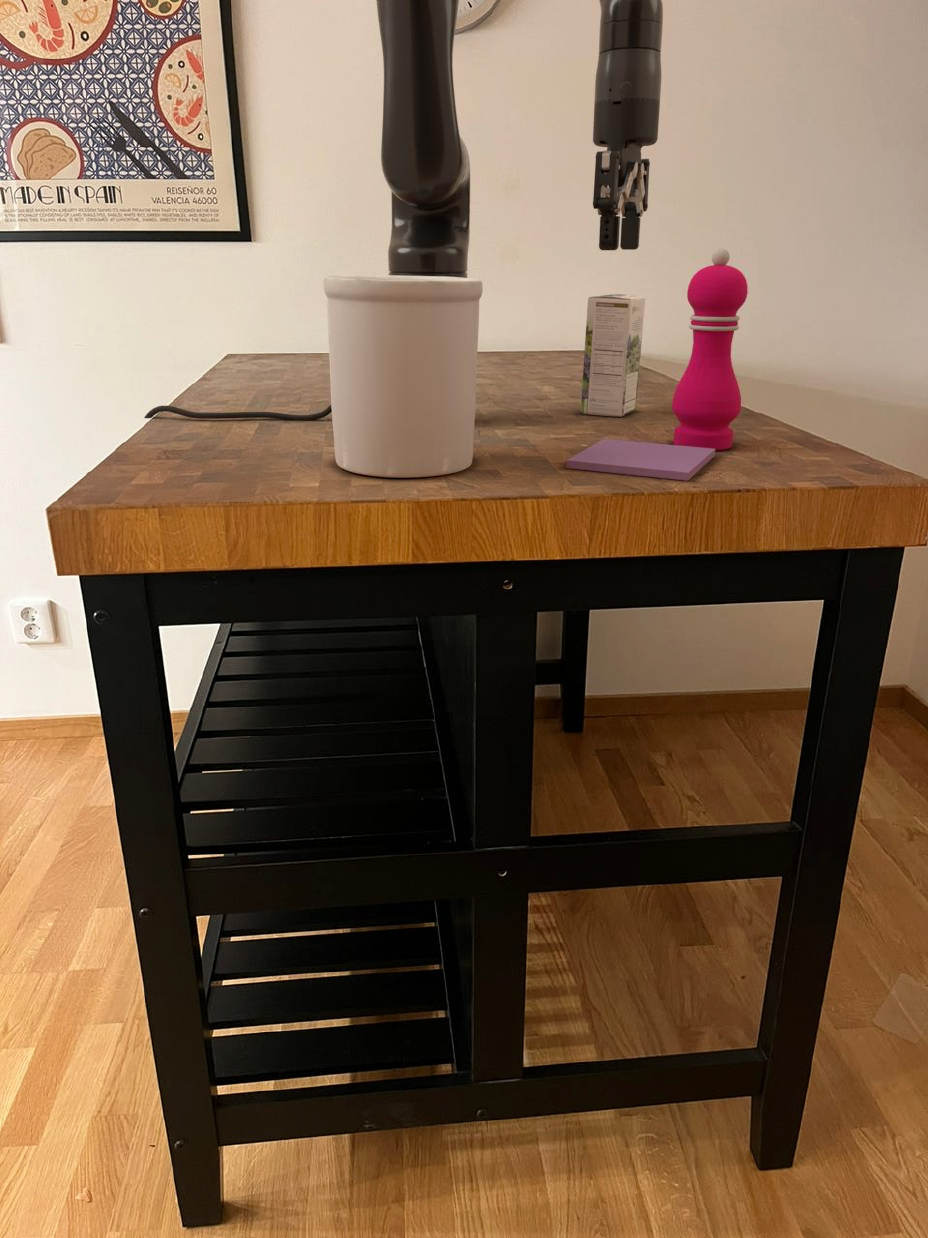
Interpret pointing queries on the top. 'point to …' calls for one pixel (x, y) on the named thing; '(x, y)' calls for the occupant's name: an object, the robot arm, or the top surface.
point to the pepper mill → (711, 358)
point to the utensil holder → (403, 372)
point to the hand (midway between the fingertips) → (619, 249)
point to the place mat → (642, 459)
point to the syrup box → (612, 354)
